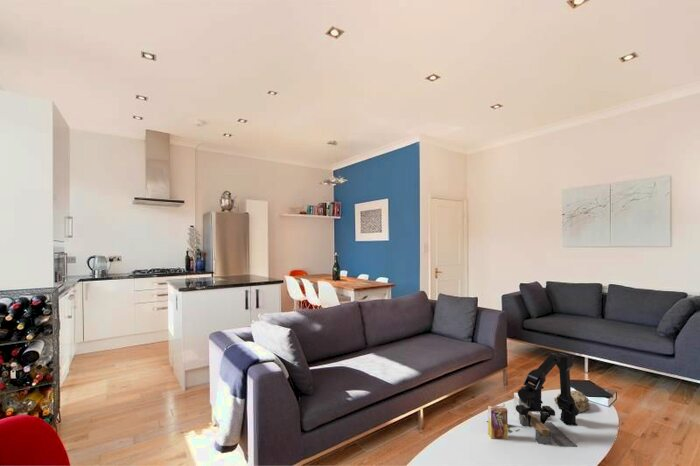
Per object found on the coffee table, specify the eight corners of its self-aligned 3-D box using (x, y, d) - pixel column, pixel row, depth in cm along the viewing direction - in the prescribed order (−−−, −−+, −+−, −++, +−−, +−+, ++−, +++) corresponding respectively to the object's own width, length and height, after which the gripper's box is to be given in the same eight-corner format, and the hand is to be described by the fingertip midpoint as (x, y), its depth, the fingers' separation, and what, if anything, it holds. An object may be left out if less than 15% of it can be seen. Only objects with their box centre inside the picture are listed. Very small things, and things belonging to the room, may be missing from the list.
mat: (551, 422, 189) (551, 422, 189) (577, 446, 167) (577, 446, 167) (535, 422, 189) (535, 421, 189) (559, 446, 167) (559, 445, 167)
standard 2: (548, 440, 171) (548, 430, 172) (551, 444, 168) (551, 433, 169) (535, 440, 172) (535, 429, 172) (538, 443, 168) (538, 433, 169)
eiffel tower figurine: (485, 422, 189) (485, 398, 189) (496, 418, 194) (496, 395, 194) (509, 436, 176) (509, 410, 176) (520, 430, 181) (521, 406, 181)
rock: (574, 418, 197) (569, 400, 199) (553, 412, 210) (548, 395, 212) (597, 408, 204) (592, 391, 206) (575, 403, 217) (570, 387, 220)
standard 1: (531, 423, 187) (531, 414, 188) (534, 426, 184) (534, 416, 185) (519, 423, 187) (520, 413, 188) (522, 426, 184) (522, 416, 185)
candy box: (504, 434, 176) (504, 405, 177) (507, 439, 172) (508, 409, 172) (487, 433, 176) (487, 405, 177) (491, 438, 172) (491, 409, 172)
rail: (528, 416, 188) (528, 409, 188) (549, 436, 168) (549, 429, 168) (522, 415, 188) (522, 409, 188) (542, 436, 168) (542, 429, 168)
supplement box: (526, 413, 198) (526, 392, 199) (531, 420, 191) (531, 398, 191) (513, 413, 199) (513, 392, 199) (518, 419, 192) (518, 397, 192)
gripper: (543, 390, 186) (543, 418, 186) (510, 390, 187) (510, 417, 186) (555, 400, 175) (555, 429, 175) (521, 399, 175) (520, 428, 175)
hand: (535, 426), depth 178 cm, fingers open, 6 cm apart
